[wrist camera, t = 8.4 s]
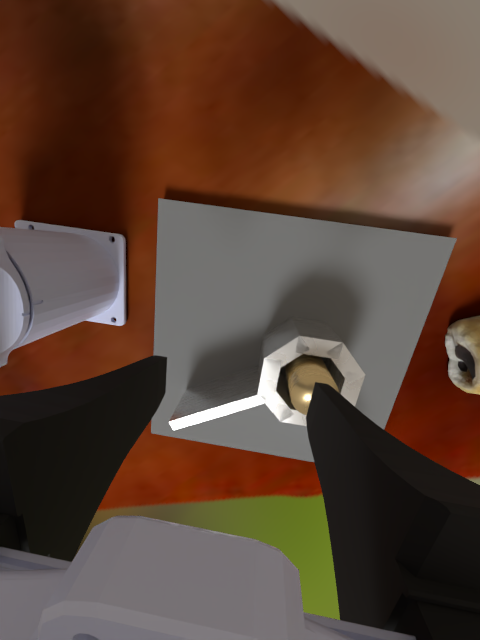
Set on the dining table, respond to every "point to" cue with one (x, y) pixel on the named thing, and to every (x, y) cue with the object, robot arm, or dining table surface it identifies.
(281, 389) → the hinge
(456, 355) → the pastry
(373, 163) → the dining table surface
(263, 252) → the mat
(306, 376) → the pin
